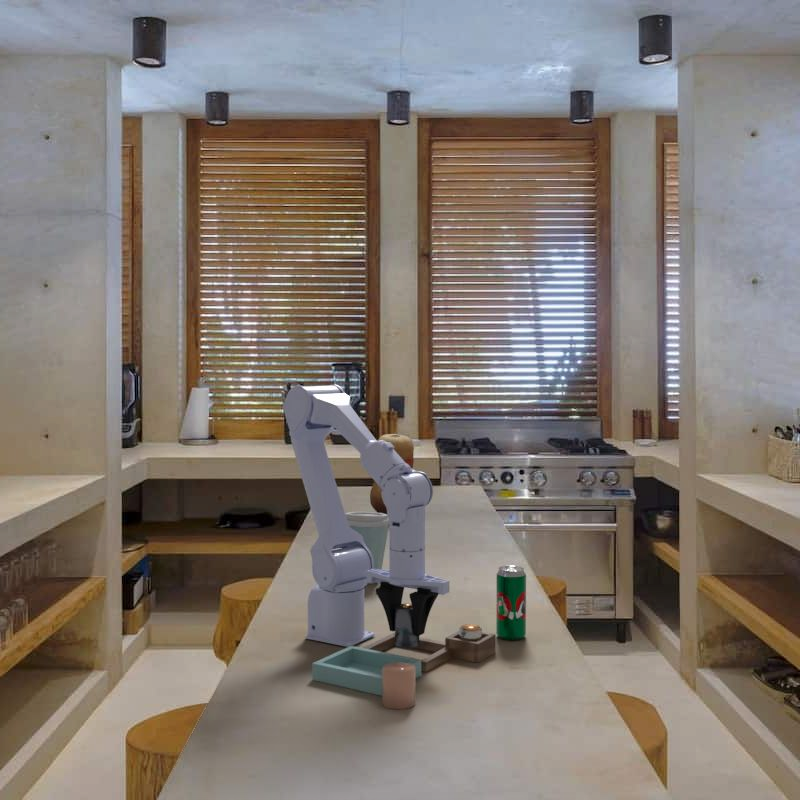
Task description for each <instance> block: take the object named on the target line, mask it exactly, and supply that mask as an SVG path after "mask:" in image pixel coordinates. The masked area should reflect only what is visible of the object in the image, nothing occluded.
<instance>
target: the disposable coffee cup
mask: <svg viewBox="0 0 800 800" xmlns="http://www.w3.org/2000/svg"><path fill="white" fill-rule="evenodd" d="M345 515H346V518H347V521H348V525H349V527H350V528H351V529H353V530H354V531H356V532H357V533H359V534H360V535H362V537H363V540H364V543H365V545H366V547H367V548H368V549H369V550H370V552H371V554H372V556H373V560H374V569H381V570H383V569H382V568H383V564H384V557H385V552H386V546H387V545H386V544H387V538H388V532H389V529H390V521H389V520H388V517H387V514H383V513H377V512H376V511H375V512H374V511H373V512H372V511H350V512H345ZM370 584H371V585H372V584H376V583H375V582H374V583H368V582H367V585H370Z"/></svg>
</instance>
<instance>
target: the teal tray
mask: <svg viewBox="0 0 800 800" xmlns="http://www.w3.org/2000/svg"><path fill="white" fill-rule="evenodd" d="M421 660H422V659H419V658H414V657H410V656H404V655H399V654H394V653H389V652H384V651H382V652H380V651H375V650H370V649H365V648H363V647H360V646H355V645H353V646H349V647H345V648H343V649H341V650H339V651H336V652H334V653H331V654H330V655H326V656H325V657H323V658H321V659H319V660H316V661H314V662H312V664H311V666H312V667H311V670H312V671H311V673H312V674H311V675H312V676H311V678H312V679H311V680H312V681H316V682H321V683H325V684H329V685H332V686H333V685H334V686H338V687H342V688H347V689H351V690H356V691H360V692H364V693H367V694H372V695H376V696H381V697H383V689H382V667H383V666H384V665H386V664H388V663H394V662H404V663H410V664H412V665H414V666H415V680H417V679H419V678H420V677H422V671H421Z"/></svg>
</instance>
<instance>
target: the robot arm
mask: <svg viewBox="0 0 800 800" xmlns="http://www.w3.org/2000/svg"><path fill="white" fill-rule="evenodd" d="M351 403H352V402H351V396H350V395H348V394H347V393H346V392H345V390H344V388H342V387H341V386H340V385H338V384H329V385H306V386H305V385H294V386H293V387H291V388H290V389H289V391H288V392H287V395H286V397H285V401H284V402H283V405H282V409H283V410H282V411H283V413H284V416H285V417H284V418H285V420H286V424H287V427H288V429H289V433H290V441H291V445H292V449H293V451H294V456H295V459H296V463H297V466H298V467H297V468H298V469H299V472H300V477H301V480H302V483H303V486H304V487H303V488H304V490H305V494H306V497H307V500H308V503H309V507H310V511H311V514H312V516H313V521H314V523H315V527H316V530H317V533H318V537H317V539H316V541H315V542H314V543H313V545H312V546H311V548H310V550H309V553H310V556H311V562H312V563H311V571H312V576H313V579H314V581H315V583H316V585H314V586H313V587H312V588H311V590H310V592H309V595H308V599H307V634H305V635H304V639H307V640H311V641H317V642H322V643H326V644H332V645H336V646H340V647H345V648H347V647H349V646H355V645H356V644H359V643H361V642H364V641H366V640H368V639H370V638H372V637H374V636H375V632H373V631H367V630H365V626H366V625H365V624H366V623H365V619H366V618H365V586H368V584H367V582H368V583H372V584H376V583H377V584H379V586H378V587H377V588H376V589H375V594H376V596H377V597H378V599H379V601H380V602H381V605H382V607H383V610H384V612H385V613H384V614H385V616H386V619H387V623H388V627H389V628H388V629H389V631H390V632H395V606H396V605H399V604H403V603H402V602H403V597H404V596H403V595H404V590H405V588H406V589H413V590H416V591H414V592H411V593H409V600H410V603H411V604H412V609H413V631H414V636H419V637H420V636H422V635H424V634H425V632H426V631H425V630H426V626H427V623H428V618H429V616H430V612H431V610H432V607H433V606H434V604H435V602H436V599H437V598H438V596H439V595H442V596H444V595H446V594H448V593H450V580H449V579H445V578H444V579H443V578H440V577H438V576H437V577H436V576H433V575H429V574H427V573H426V507H427V506H428V505H429V504H431V501H432V500H433V496H434V488H433V484H432V481H431V480H430V478H429V476H428V475H427V473H426V472H423V471H420V470H415V469H414V468H412V469H411V467H410V466H409V465H408V464H406V463H405V462H404V460H403V459H402V458H401V457H400V456H399V455H398V454H397V453H396V451H395V450H394V446H393V445H392V444H391V443H390V442H389V443H388V442H386V441H384V440H379V441H378V439H377V438H375V436H374V435H373V434H372V433H371V431H370V430H369V428H368V427H367V426H366V424H365V423H364V421H363V420H362V419H361V418H360V416H359V415H358V413H357V412H356V411H355V410H354V409H353V407H352V406H351ZM334 429H335V430H337V432H338V433H339V434H340V435H341V436H342V437H343V438H344V439H345V440H346V441H347V442H348V443H349V444H350V445H352V447H353V448H354V449H356V450H357V452H359V455H360V456H359V464H360V465H361V467H362V468H363V469H364V470H365V472H366V473H367V474H368V475H369V476H370V477H371V478H372V480H373V482H374V481H375V482H376V483H377V484H378V485H379V487H380V488H381V489H382V490H383V491H382V492H381V494H382V499H383V502H384V504H385V506H386V508H387V517H388V520H389V521H390V524H389V567H388V569H382V570H381V569H374V560H373V556H372V554H371V552H370V550H369V549H368V548H367V547H366V545H365V543H364V540H363V537H362V535H360V534H359V533H357V532H356V531H354V530H353V529H351V528H350V527H349V525H348V521H347V518H346V515H345V513H346V512H345V509H344V505H343V502H342V499H341V496H340V492H339V488H338V485H337V483H336V479H335V476H334V472H333V469H332V465H331V462H330V459H329V456H328V452H327V448H326V446H325V441H326V439H327V437H328V436H329V435H330V434H331V433H332V431H333V430H334ZM374 582H375V583H374Z"/></svg>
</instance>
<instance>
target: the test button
mask: <svg viewBox="0 0 800 800" xmlns="http://www.w3.org/2000/svg"><path fill="white" fill-rule="evenodd" d="M482 629H483V628H482V627H481V626H480V625H479V624H474V623H473V624H472V623H469V624H463V625H461V626H460V627H459V630H458V631H459V639H463V640H469V641H474V642H477V641H479V640H481V639H482V632H483V630H482Z"/></svg>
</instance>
